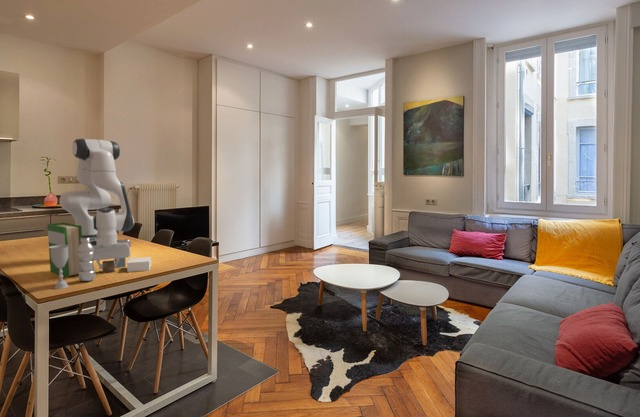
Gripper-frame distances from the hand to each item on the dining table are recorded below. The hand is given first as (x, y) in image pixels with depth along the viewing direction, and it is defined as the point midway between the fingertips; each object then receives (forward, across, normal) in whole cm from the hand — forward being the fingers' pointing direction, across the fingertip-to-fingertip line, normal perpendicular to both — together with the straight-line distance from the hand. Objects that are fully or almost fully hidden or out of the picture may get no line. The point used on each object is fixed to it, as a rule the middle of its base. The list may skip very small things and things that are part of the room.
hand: (108, 267), depth 185 cm
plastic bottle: (+2, +8, +14) cm, 16 cm away
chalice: (+2, +17, +20) cm, 26 cm away
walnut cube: (+2, 0, 0) cm, 2 cm away
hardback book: (+2, +18, -5) cm, 19 cm away
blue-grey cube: (+2, -5, -9) cm, 10 cm away
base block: (+2, -14, +1) cm, 14 cm away
